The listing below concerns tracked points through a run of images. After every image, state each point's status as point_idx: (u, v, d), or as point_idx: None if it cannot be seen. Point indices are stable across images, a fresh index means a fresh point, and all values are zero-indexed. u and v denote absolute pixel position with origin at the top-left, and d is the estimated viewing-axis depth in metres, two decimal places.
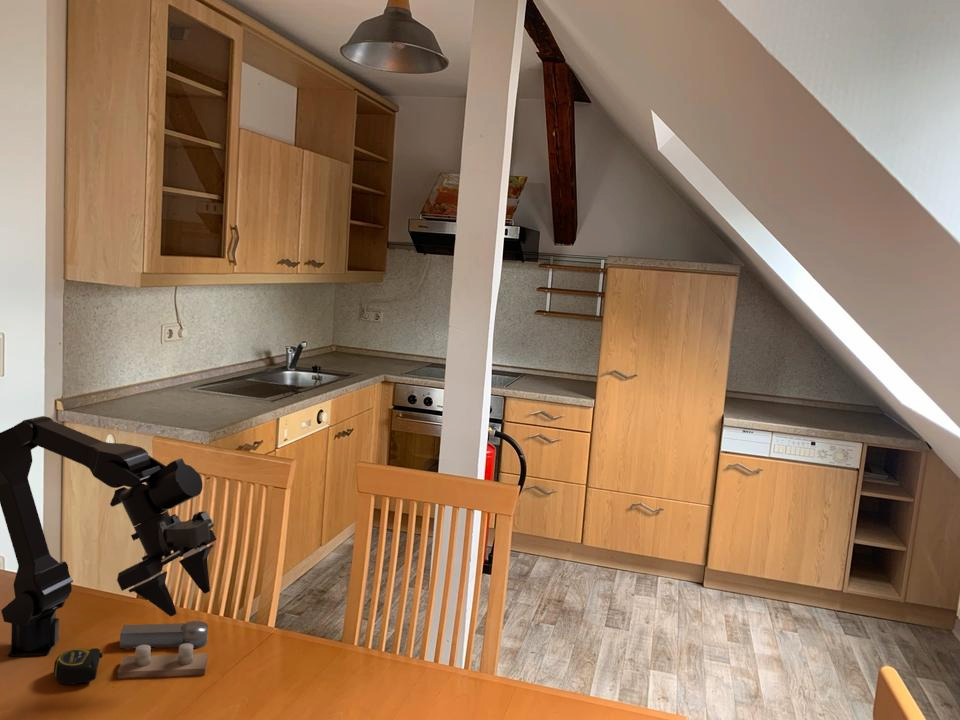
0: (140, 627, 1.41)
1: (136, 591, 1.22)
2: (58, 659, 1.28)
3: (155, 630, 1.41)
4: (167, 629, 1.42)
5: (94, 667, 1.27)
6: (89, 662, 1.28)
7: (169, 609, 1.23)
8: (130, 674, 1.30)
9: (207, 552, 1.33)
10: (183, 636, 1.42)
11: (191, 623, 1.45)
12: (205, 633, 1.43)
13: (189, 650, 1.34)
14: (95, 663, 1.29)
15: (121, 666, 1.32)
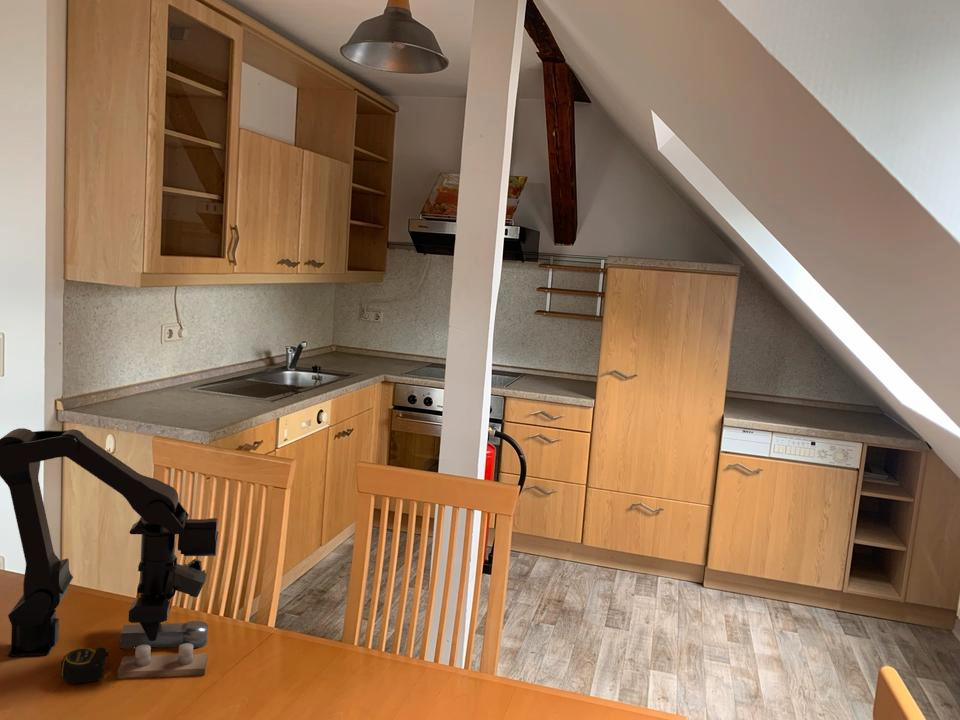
0: (140, 627, 1.41)
1: None
2: (65, 658, 1.28)
3: None
4: (167, 629, 1.42)
5: (100, 666, 1.28)
6: (95, 661, 1.29)
7: (153, 635, 1.40)
8: (130, 674, 1.30)
9: None
10: (183, 636, 1.42)
11: (191, 623, 1.45)
12: (205, 633, 1.43)
13: (189, 650, 1.34)
14: (102, 662, 1.29)
15: (121, 666, 1.32)
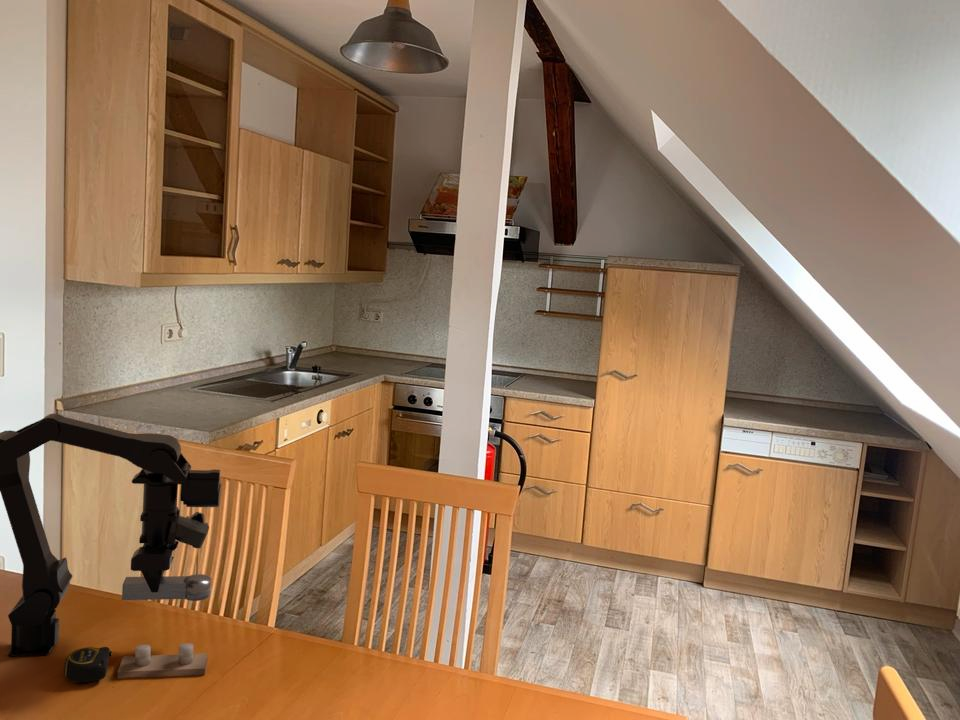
0: (142, 579, 1.40)
1: None
2: (68, 658, 1.28)
3: None
4: (170, 581, 1.40)
5: (104, 666, 1.28)
6: (99, 660, 1.29)
7: (155, 587, 1.38)
8: (130, 674, 1.30)
9: None
10: (186, 588, 1.40)
11: (194, 576, 1.43)
12: (208, 586, 1.42)
13: (189, 650, 1.34)
14: (105, 662, 1.29)
15: (121, 666, 1.32)
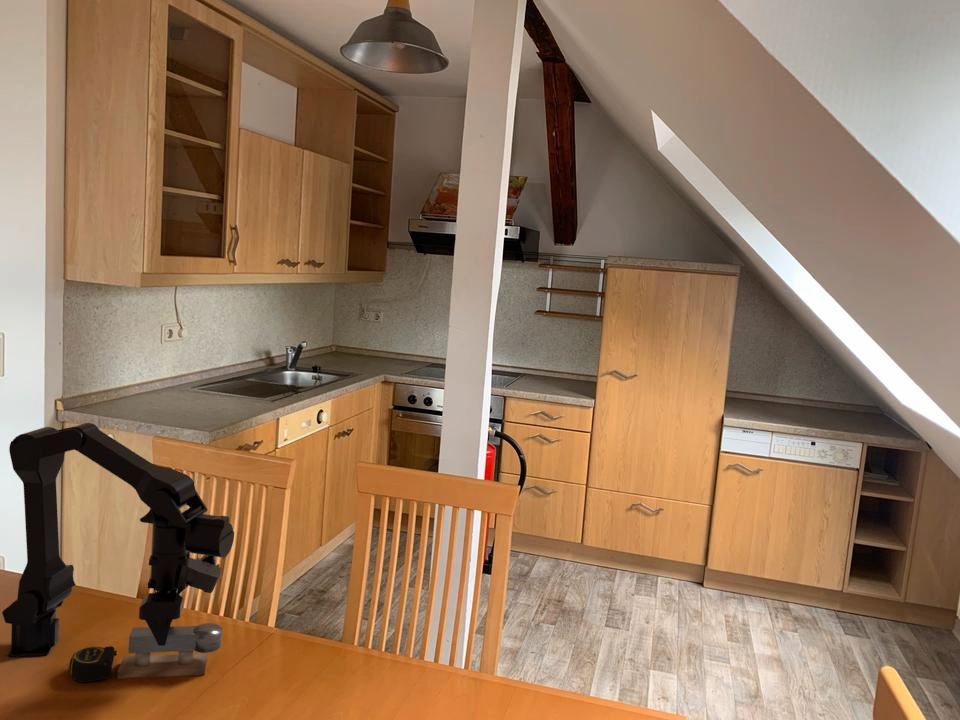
0: (150, 630, 1.33)
1: None
2: (73, 657, 1.29)
3: None
4: (179, 632, 1.33)
5: (109, 665, 1.29)
6: (104, 659, 1.29)
7: (163, 640, 1.29)
8: (130, 674, 1.30)
9: None
10: (196, 639, 1.33)
11: (204, 625, 1.36)
12: (219, 636, 1.35)
13: None
14: (110, 661, 1.30)
15: (121, 666, 1.32)
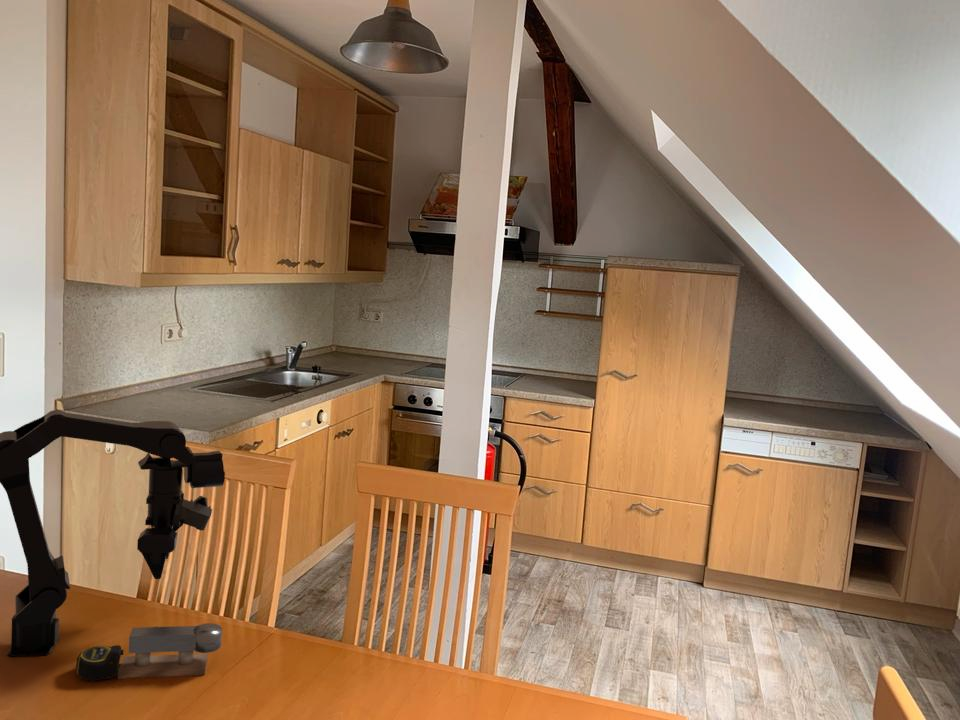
0: (150, 630, 1.33)
1: None
2: (80, 655, 1.29)
3: (166, 633, 1.33)
4: (179, 632, 1.33)
5: (115, 664, 1.29)
6: (110, 658, 1.30)
7: (158, 573, 1.41)
8: (130, 674, 1.30)
9: None
10: (196, 639, 1.33)
11: (204, 625, 1.36)
12: (219, 636, 1.35)
13: None
14: (116, 660, 1.30)
15: (121, 666, 1.32)
